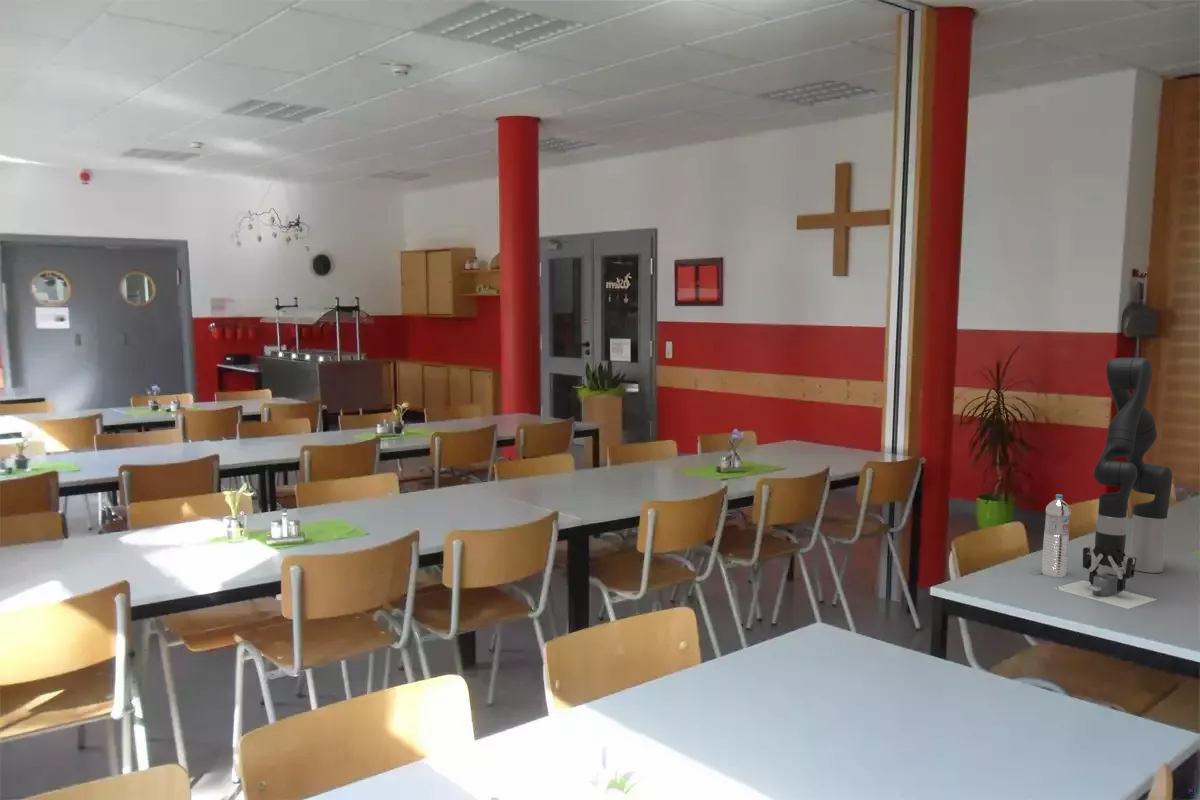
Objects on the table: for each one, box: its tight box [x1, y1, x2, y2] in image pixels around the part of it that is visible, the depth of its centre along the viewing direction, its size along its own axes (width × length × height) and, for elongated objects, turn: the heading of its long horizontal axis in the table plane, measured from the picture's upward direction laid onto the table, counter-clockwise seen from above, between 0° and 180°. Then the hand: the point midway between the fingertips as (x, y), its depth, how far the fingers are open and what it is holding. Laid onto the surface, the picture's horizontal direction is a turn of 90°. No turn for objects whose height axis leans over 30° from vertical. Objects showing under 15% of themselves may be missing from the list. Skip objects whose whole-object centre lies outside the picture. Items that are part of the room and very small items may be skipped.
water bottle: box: [1041, 493, 1072, 578], centre depth 279 cm, size 7×7×25 cm
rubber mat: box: [1053, 579, 1157, 610], centre depth 261 cm, size 16×21×1 cm
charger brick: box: [1089, 572, 1120, 597], centre depth 261 cm, size 12×4×5 cm, turn 124°
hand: (1106, 587), depth 261 cm, fingers open, 7 cm apart
